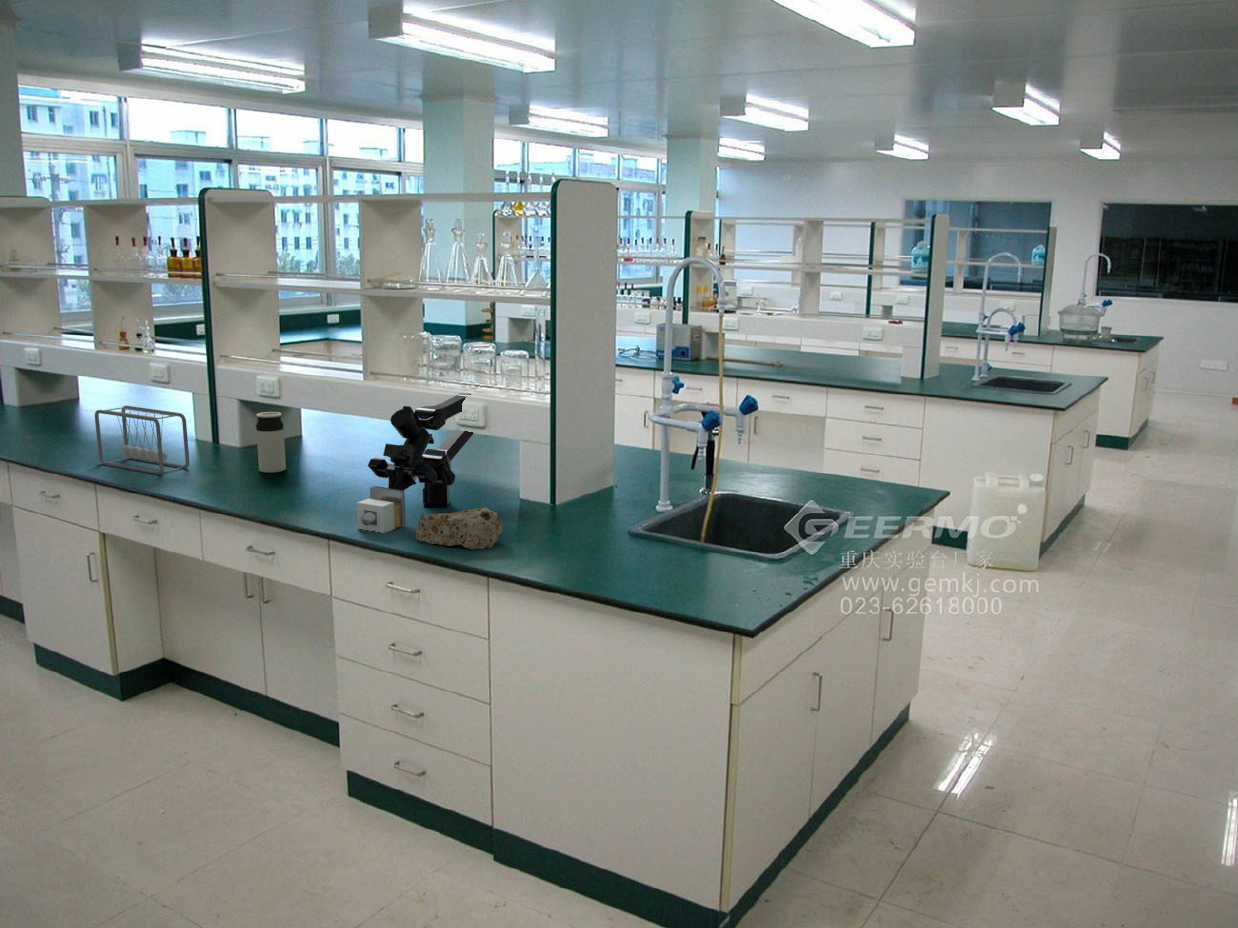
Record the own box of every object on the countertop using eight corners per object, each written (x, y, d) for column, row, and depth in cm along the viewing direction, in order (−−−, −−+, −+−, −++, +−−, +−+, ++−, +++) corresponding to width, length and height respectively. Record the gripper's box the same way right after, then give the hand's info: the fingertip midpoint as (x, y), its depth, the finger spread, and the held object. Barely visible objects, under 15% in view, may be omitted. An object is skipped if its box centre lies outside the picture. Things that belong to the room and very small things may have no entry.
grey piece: (374, 519, 259) (372, 485, 257) (405, 524, 255) (404, 490, 253) (350, 528, 251) (348, 494, 249) (382, 533, 247) (381, 498, 245)
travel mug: (291, 469, 314) (288, 413, 310) (270, 474, 307) (266, 417, 303) (274, 466, 318) (271, 410, 314) (253, 471, 312) (249, 414, 308)
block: (369, 524, 256) (368, 498, 255) (394, 528, 253) (393, 502, 251) (358, 529, 252) (356, 502, 251) (383, 533, 249) (382, 506, 247)
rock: (408, 547, 241) (408, 506, 242) (442, 545, 255) (443, 506, 255) (480, 550, 233) (481, 507, 233) (512, 548, 246) (512, 507, 247)
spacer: (372, 521, 258) (371, 500, 257) (401, 526, 254) (400, 504, 253) (367, 523, 256) (366, 502, 255) (396, 528, 253) (395, 506, 251)
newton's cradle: (190, 469, 313) (186, 413, 309) (161, 476, 304) (156, 418, 300) (128, 458, 327) (123, 404, 323) (98, 464, 318) (93, 409, 314)
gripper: (370, 427, 261) (344, 477, 253) (429, 434, 253) (405, 486, 246) (390, 451, 270) (366, 500, 262) (448, 458, 262) (425, 509, 255)
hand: (389, 498), depth 256 cm, fingers closed, pressing on grey piece
